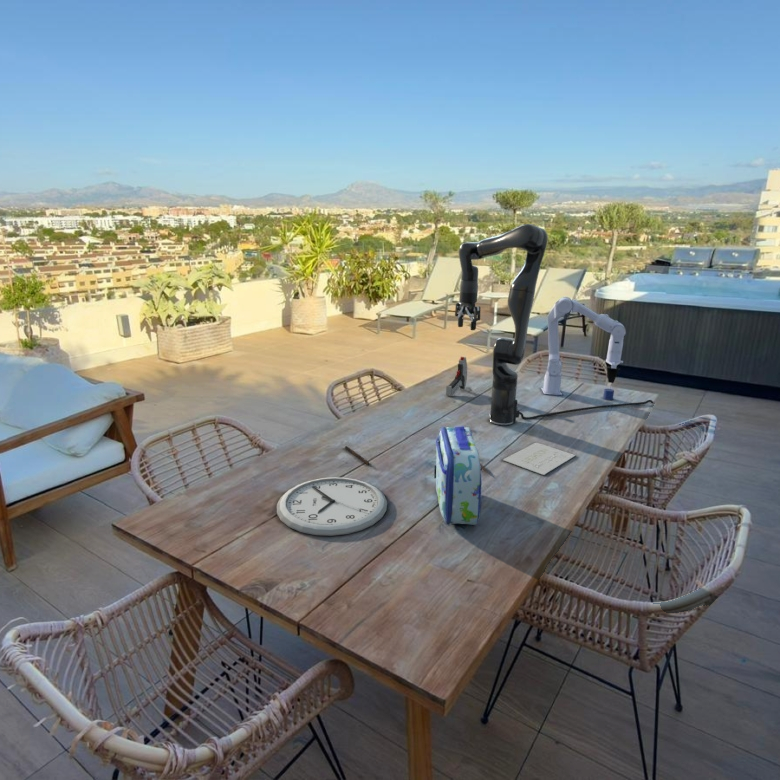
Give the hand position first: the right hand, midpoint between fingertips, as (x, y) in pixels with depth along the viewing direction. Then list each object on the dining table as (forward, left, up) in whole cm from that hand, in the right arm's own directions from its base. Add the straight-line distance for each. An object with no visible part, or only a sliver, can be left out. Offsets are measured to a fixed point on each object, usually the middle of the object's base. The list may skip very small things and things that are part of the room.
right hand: (610, 380), depth 235 cm
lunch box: (+107, -70, -9) cm, 128 cm away
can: (0, 0, -9) cm, 9 cm away
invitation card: (+71, -42, -9) cm, 83 cm away
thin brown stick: (+78, -102, -9) cm, 129 cm away
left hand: (+7, -66, +22) cm, 70 cm away
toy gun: (+3, -69, -9) cm, 69 cm away
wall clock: (+111, -104, -9) cm, 152 cm away
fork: (+79, -63, -9) cm, 101 cm away
